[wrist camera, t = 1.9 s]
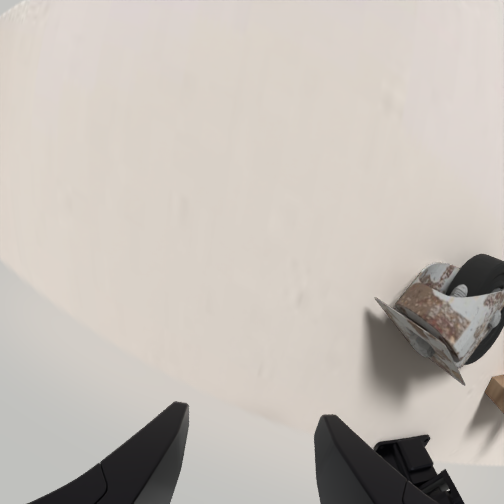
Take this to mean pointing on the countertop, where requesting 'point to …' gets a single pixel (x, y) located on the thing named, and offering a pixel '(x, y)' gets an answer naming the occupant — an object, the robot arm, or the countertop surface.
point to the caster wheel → (453, 311)
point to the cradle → (496, 391)
